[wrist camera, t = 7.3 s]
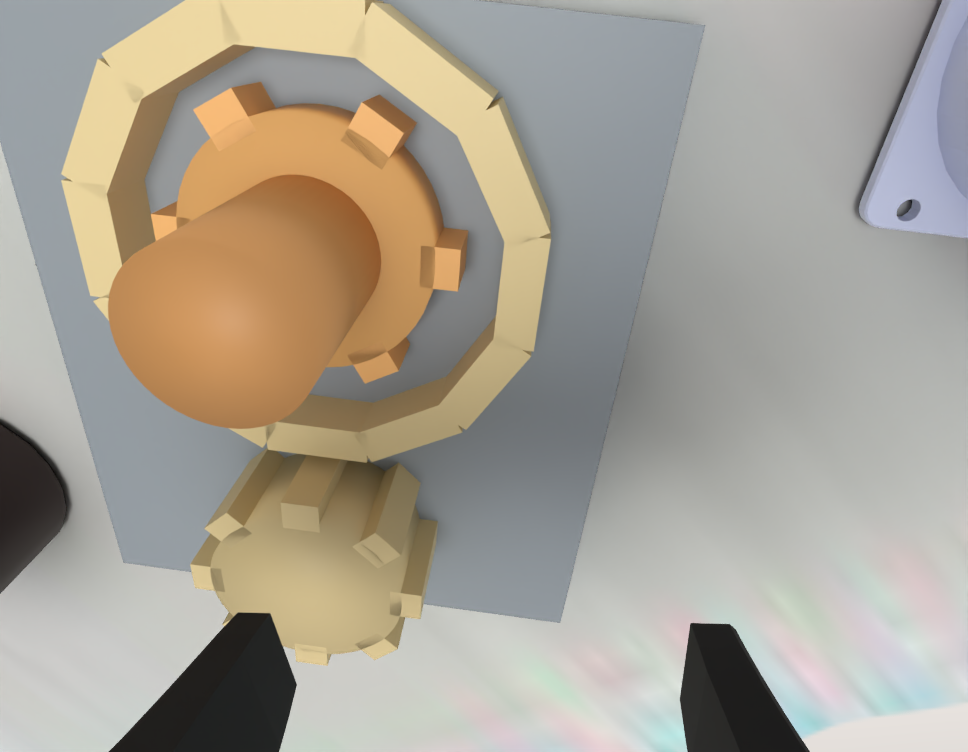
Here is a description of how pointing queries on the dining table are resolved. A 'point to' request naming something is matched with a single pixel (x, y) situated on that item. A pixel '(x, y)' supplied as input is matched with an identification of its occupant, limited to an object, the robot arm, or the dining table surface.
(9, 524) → the bottle
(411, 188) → the planet gear
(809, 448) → the dining table surface
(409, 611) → the carrier plate
